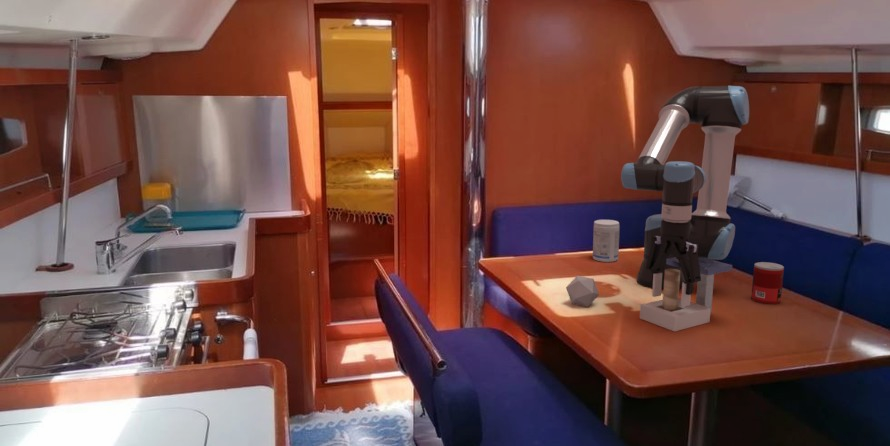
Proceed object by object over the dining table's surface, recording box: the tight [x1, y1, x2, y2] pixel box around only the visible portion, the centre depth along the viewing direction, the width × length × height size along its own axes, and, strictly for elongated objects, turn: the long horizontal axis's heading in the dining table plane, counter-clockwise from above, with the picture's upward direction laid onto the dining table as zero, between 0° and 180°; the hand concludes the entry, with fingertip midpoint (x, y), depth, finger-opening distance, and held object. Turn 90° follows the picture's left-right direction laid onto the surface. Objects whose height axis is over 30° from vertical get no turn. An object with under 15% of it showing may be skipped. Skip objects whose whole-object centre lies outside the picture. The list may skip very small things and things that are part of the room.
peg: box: [662, 269, 680, 312], centre depth 173 cm, size 4×4×14 cm
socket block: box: [639, 297, 712, 332], centre depth 176 cm, size 12×14×4 cm
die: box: [565, 275, 600, 307], centre depth 190 cm, size 8×9×10 cm
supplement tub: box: [592, 219, 620, 263], centre depth 241 cm, size 10×10×15 cm
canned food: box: [751, 261, 785, 305], centre depth 192 cm, size 8×8×11 cm
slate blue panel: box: [666, 257, 733, 315], centre depth 179 cm, size 14×10×16 cm
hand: (670, 300), depth 174 cm, fingers open, 9 cm apart
